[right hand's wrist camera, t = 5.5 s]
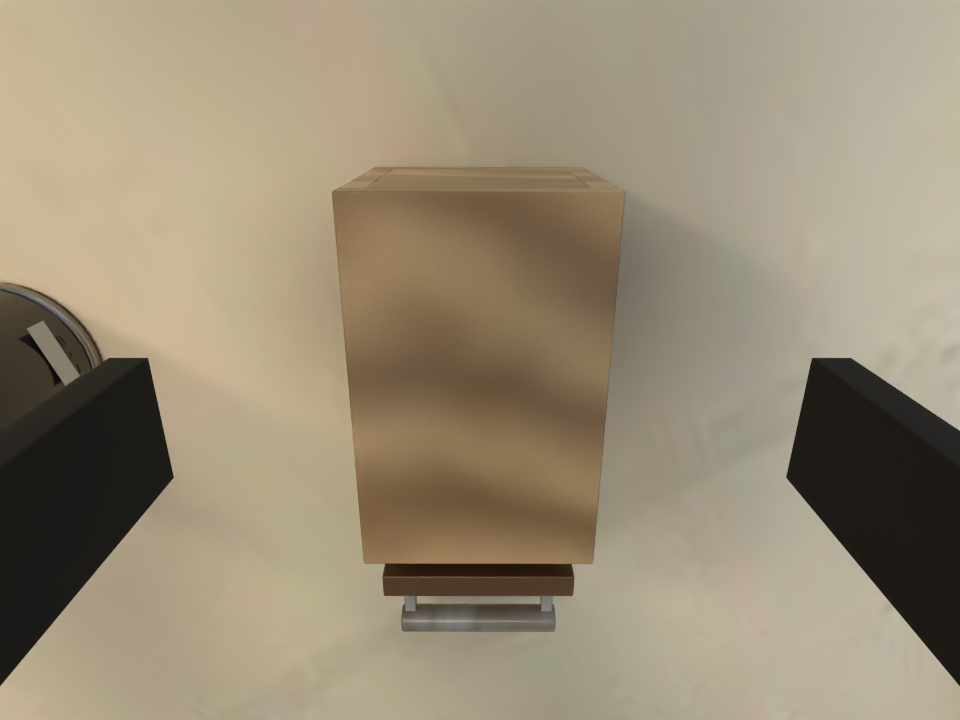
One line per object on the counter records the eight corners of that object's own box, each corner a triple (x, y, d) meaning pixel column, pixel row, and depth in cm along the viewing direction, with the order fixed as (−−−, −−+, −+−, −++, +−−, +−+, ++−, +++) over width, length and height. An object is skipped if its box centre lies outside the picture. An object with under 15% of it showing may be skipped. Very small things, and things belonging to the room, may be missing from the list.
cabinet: (566, 455, 37) (593, 564, 28) (391, 455, 37) (363, 564, 28) (584, 167, 31) (625, 191, 22) (374, 167, 31) (331, 191, 22)
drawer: (551, 581, 39) (566, 683, 32) (405, 581, 39) (390, 682, 32) (570, 254, 31) (595, 296, 24) (387, 254, 31) (361, 296, 24)
